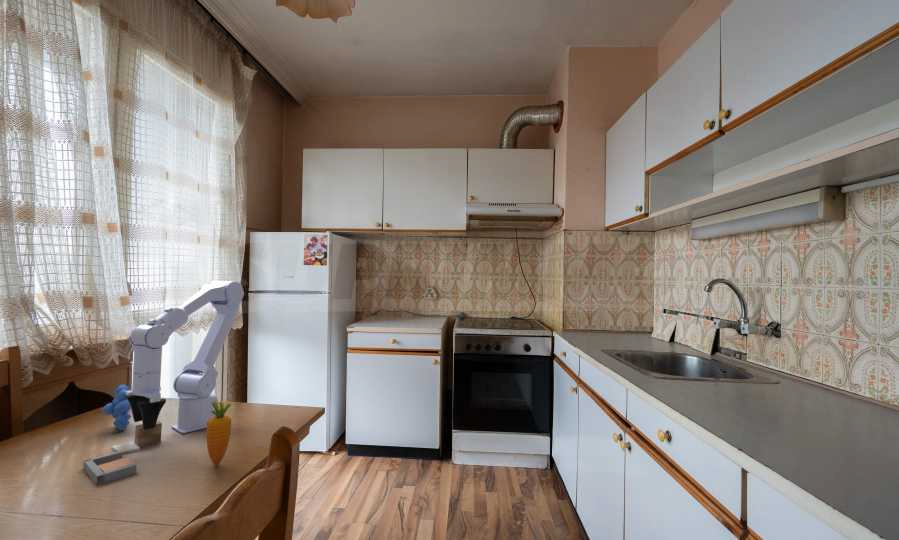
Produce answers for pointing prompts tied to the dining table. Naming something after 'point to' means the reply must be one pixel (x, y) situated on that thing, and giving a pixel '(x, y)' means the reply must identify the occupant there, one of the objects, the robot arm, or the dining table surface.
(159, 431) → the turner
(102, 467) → the tile
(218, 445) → the carrot
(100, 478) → the bay
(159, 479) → the dining table surface
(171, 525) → the dining table surface
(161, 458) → the dining table surface
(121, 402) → the grapes
